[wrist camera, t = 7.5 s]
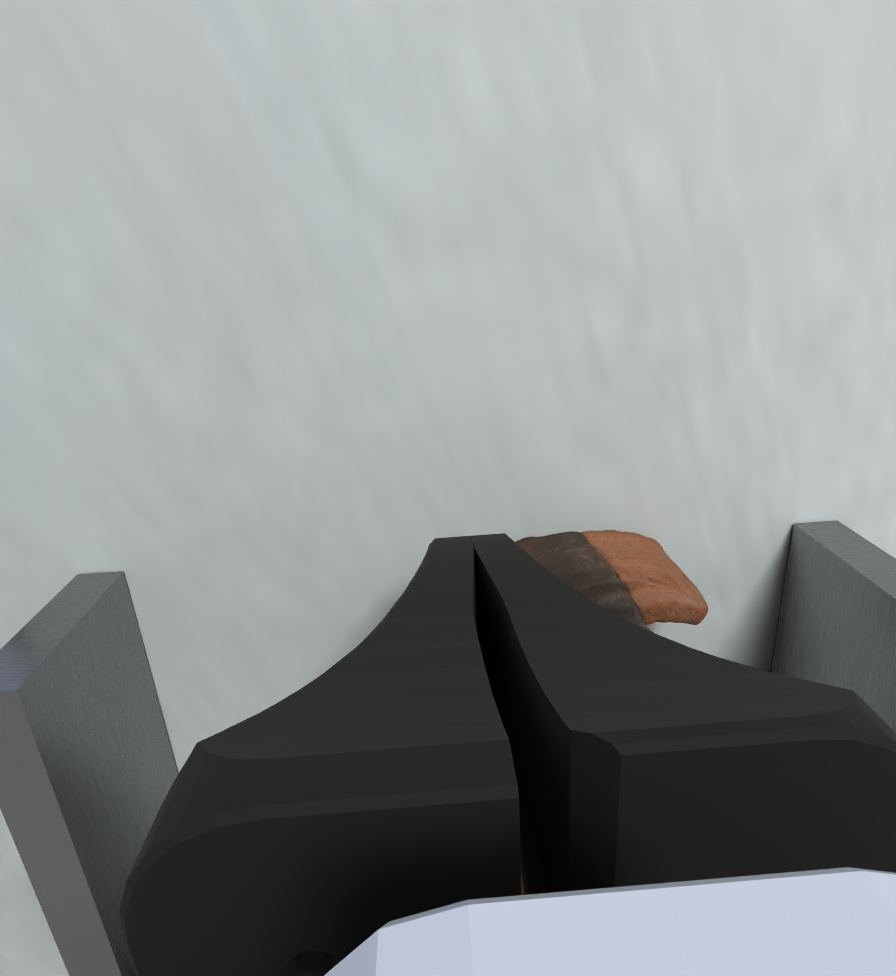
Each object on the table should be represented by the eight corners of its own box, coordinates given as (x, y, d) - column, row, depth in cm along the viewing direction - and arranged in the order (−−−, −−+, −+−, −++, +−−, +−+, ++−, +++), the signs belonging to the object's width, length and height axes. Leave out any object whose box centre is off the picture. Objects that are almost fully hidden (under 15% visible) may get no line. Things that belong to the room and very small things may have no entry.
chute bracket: (201, 986, 19) (149, 1168, 15) (77, 574, 14) (-47, 694, 10) (761, 938, 19) (843, 1104, 16) (837, 520, 14) (985, 617, 11)
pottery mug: (781, 509, 15) (1062, 936, 10) (596, 683, 21) (703, 991, 16) (234, 484, 11) (213, 1208, 5) (217, 709, 17) (201, 1130, 12)
